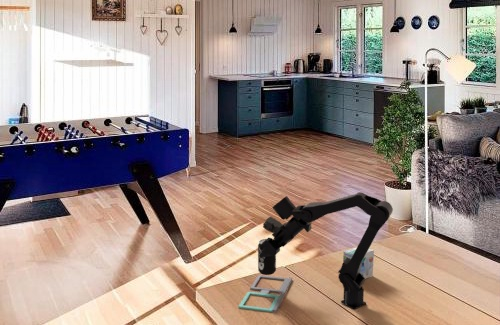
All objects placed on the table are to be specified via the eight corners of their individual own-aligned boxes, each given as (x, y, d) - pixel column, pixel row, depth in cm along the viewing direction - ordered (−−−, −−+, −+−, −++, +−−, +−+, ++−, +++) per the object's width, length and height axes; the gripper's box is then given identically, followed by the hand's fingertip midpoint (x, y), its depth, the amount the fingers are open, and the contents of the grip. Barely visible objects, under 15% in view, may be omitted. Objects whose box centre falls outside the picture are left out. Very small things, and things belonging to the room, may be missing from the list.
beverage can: (275, 276, 202) (275, 245, 200) (257, 275, 203) (257, 244, 200) (276, 268, 209) (276, 238, 206) (259, 268, 209) (258, 238, 207)
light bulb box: (354, 283, 210) (355, 256, 208) (341, 277, 216) (342, 251, 213) (373, 276, 217) (374, 250, 214) (360, 270, 222) (361, 245, 219)
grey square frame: (258, 276, 217) (258, 274, 217) (288, 279, 214) (288, 278, 213) (250, 289, 205) (250, 287, 205) (281, 293, 202) (281, 291, 202)
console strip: (269, 277, 215) (269, 275, 215) (292, 280, 213) (292, 277, 213) (250, 309, 190) (250, 306, 190) (276, 312, 188) (276, 310, 188)
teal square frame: (247, 292, 203) (247, 291, 202) (279, 296, 199) (279, 295, 199) (238, 307, 191) (238, 306, 191) (272, 312, 188) (272, 310, 188)
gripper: (285, 204, 207) (259, 229, 214) (266, 219, 191) (238, 245, 198) (305, 227, 206) (278, 251, 213) (288, 244, 189) (258, 269, 196)
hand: (263, 253), depth 205 cm, fingers closed on beverage can, 7 cm apart
